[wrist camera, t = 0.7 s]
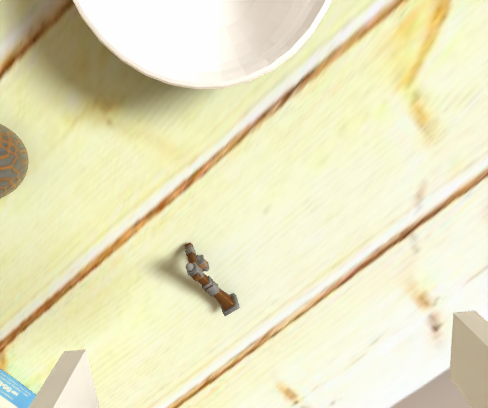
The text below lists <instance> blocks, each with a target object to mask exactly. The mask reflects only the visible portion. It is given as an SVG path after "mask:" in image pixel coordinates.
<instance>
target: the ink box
mask: <svg viewBox="0 0 488 408" xmlns="http://www.w3.org/2000/svg"><path fill="white" fill-rule="evenodd" d="M35 397H36V394H34V393H33V392H32V391H30V390H29V389H28V388H26V387H25V386H24V385H22V384H21V383H20V382H18V381H17V380H16V379H14V378H13V377H12V376H10V375H9V374H7V373H6V372H5V371H3V370H2V369H0V408H28V407H29V406H30V404H31V403H32V401H33V400H34V398H35Z"/></svg>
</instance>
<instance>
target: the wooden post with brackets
mask: <svg viewBox="0 0 488 408" xmlns="http://www.w3.org/2000/svg"><path fill="white" fill-rule="evenodd" d="M185 247H186V248H185V249H186V250H185V252H186V255H187V256H188V260H189V263H188V264H187V265H186V269H187V273H188V275H190V276H191V277H192V278H193V279H194V280H195V282H196V281H198V282H199V283H200V284H201V285H202V288H203V289H205V291H206V292H208V293H209V294H210V295H211V296H214V297H215V298H216V299H217V301H218V302H219V303H220V304H221V308H222V311H223V314H224V316H226V315H228V314H230V313H232V312H233V311H235V310H237V309H239V308H240V307H239V303H238V300H237V297H236V295H235V294H234V293H233V294H231V295H228V294H227V293H225V292H224V291H222V290H221V289H220V288H219V287H218V284H216V283H215V282H214V281H213V279H211V277H209V276H208V277H207V276H206V275H205V274H204V273H203V271H208V270H209V265H208V262H207V261H205V260H204V258H203V255H201V256H198V255H197V256H196V252H195V250H194V248H193V245H192V244H191V243H188V244H186V245H185Z"/></svg>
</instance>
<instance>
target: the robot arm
mask: <svg viewBox="0 0 488 408" xmlns="http://www.w3.org/2000/svg"><path fill="white" fill-rule="evenodd" d="M449 378H450V379H451V380H452V381H453V383H454V384H455V385H456V387H457V388H458V389H459V390H460V392H461V393H462V394H463V396H464V397H465V398H466V400H467V401H468V402H469V403H470V405H471V406H472V408H488V322H487V321H486V320H485V319H484V318H482V317H481V316H480V315H479V314H478V313H477V312H476V311H468V312H458V313H454V314H453V330H452V346H451V361H450V377H449ZM28 408H99V404H98V399H97V395H96V391H95V387H94V382H93V378H92V374H91V370H90V365H89V361H88V357H87V353H86V349H85V350H75V351H65V352H64V353H63V354H62V356H61V357H60V359H59V360H58V362H57V364H56V365H55V367H54V368H53V370H52V371H51V373H50V375H49V376H48V378H47V379H46V381H45V382H44V384H43V386H42V387H41V389H40V390H39V392H38V393H37V395H36V397H35V398H34V400H33V401H32V403H31V404H30V406H29V407H28Z"/></svg>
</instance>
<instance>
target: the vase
mask: <svg viewBox="0 0 488 408" xmlns="http://www.w3.org/2000/svg"><path fill="white" fill-rule="evenodd" d="M27 169H28V154H27V151H26V148H25V146H24V144H23V143H22V141H21V140H20V138H19V137H18V136H17V135H16V134H15V133H14V132H12V131H11V130H10V129H8V128H7V127H5V126H3V125H1V124H0V198H2V197H4V196H6V195H8V194H9V193H11V192H12V191H14V190H15V189H16V188H17V187H18V186H19V185H20V183H21V182H22V181H23V179H24V177H25V175H26V172H27Z"/></svg>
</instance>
